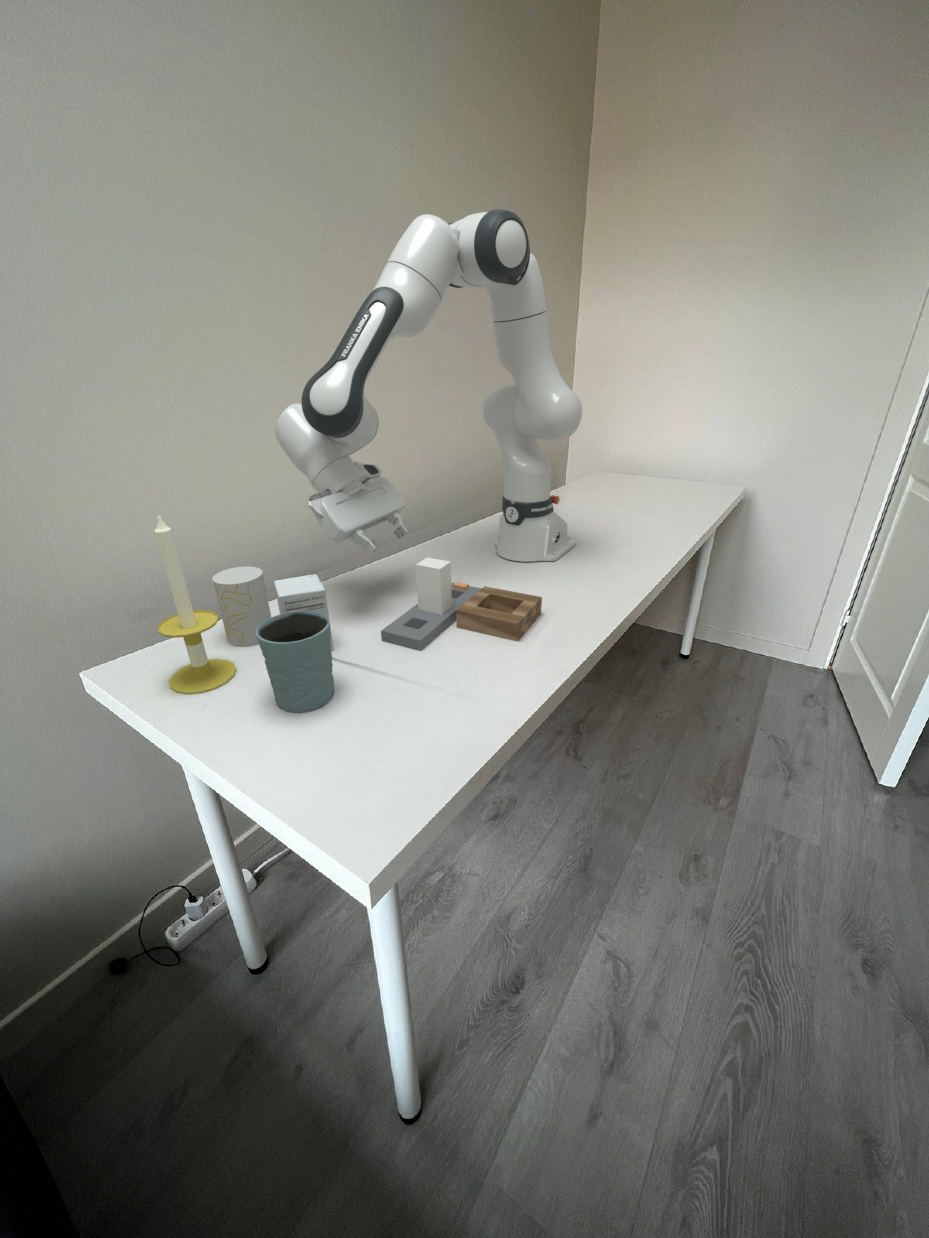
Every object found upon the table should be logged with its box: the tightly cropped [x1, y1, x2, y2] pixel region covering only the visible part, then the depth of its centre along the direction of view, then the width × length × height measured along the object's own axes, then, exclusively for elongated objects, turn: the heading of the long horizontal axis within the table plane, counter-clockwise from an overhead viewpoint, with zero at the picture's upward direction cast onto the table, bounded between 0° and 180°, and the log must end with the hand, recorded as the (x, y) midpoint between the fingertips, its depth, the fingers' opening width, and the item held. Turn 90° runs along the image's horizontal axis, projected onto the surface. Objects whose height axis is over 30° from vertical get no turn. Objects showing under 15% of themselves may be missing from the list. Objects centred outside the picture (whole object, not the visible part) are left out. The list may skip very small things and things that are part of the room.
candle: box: [154, 512, 237, 695], centre depth 80 cm, size 10×10×27 cm
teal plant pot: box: [256, 611, 335, 714], centre depth 78 cm, size 10×10×12 cm
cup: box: [211, 565, 272, 648], centre depth 95 cm, size 8×8×12 cm
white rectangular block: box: [415, 557, 452, 615], centre depth 99 cm, size 4×5×11 cm
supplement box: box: [273, 573, 335, 652], centre depth 90 cm, size 7×7×13 cm
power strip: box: [380, 581, 483, 652], centre depth 101 cm, size 24×8×4 cm, turn 153°
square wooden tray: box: [455, 585, 543, 643], centre depth 99 cm, size 12×12×4 cm
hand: (389, 543), depth 99 cm, fingers open, 8 cm apart
